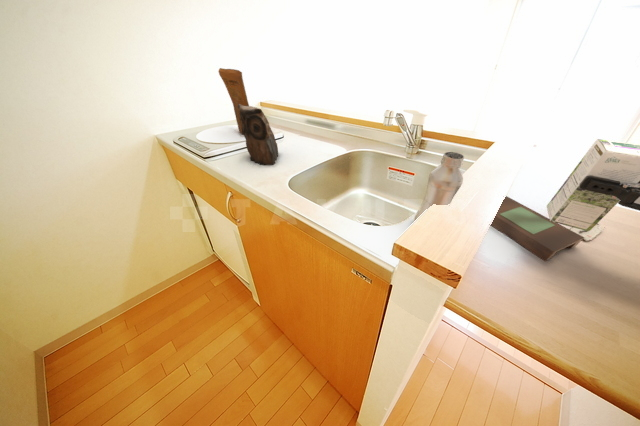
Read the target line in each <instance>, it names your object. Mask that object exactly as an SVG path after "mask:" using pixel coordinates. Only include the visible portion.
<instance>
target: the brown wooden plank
mask: <svg viewBox="0 0 640 426" xmlns="http://www.w3.org/2000/svg"><path fill="white" fill-rule="evenodd" d="M217 72H218V75H219V77H220V78H221V80H222V82H223V84H224V86H225V88H226V91H227V93H228V96H229V98H230V100H231V103H232V107H233V111H234V115H235V121H236V124H237V128H238V133H239V134H241V135H242V136H244V135H243V133H242V120H241V116H240V111H239V108H238V105H239V104H241V105H243V106H250V104H249V100H248V95H247V91H246V87H245V83H244V78H243V72H242V71H241V70H239V69H235V68H222V67H220V68H219V69H218V71H217Z"/></svg>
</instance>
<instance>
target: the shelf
mask: <svg viewBox="0 0 640 426" xmlns="http://www.w3.org/2000/svg"><path fill="white" fill-rule="evenodd" d="M505 196H506V197H505V199H504V200H503V202H502V204H501V206H500V208H499V210H498V212H497V214H496V216H495V218H494V220H493V222H492V224H491V225H490V227H493V228H494V229H496V230H497V231H499V232H500V233H502V234H503V235H505V236H506V237H508V238H509V239H510V240H512V241H513V242H515V243H517V244H518V245H520V246H521V247H523V248H524V249H526V250H528V251H529V252H530V253H532V254H534V255H535V256H537V257H538V258H540V259H541V260H542V261H544V262H546V261H548V260H550V259H552V258H553V257H554V256H555V255H557V253H558V252H560V251H561V250H564V249H566V248H568V249H569V250H571V249H574V248H576V247H577V246H578V245H579V244H580V242H582V241H583V240H584V239H583V238H584V237H582V236H581V235H579V234H577V233H575V232H573V231H571V230H570V228H568V227H566V226H565V225H563V224H559V223H555V222H551V221H550V219H549V217H547V216H544V215H543V214H541V213H539V212H537V211H535V210H533V209H532V208H530V207H528V206H526V205H524V204H522V203H520V202H519V201H516V200H515V199H513V198H511V197H509V196H507V195H505Z"/></svg>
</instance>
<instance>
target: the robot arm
mask: <svg viewBox="0 0 640 426" xmlns="http://www.w3.org/2000/svg"><path fill="white" fill-rule="evenodd" d="M620 184H621V183H620V181H615V180H610V179H605V178H601V177H596V176H586V177H585V178H584V179H583V180H582V182H581V183H580V184H579V186H580V188H581V189H585V190H589V191H593V192H597V193H602V194H606V195H611V196H610V197H611V198H613V199H616V200H620V201H619V202H618V203H617V204H618V205H620V206H621V207H625V208H629V209H632V210H634V211H635V210H636V211H640V181H639V182H638V183H637V184H636V183H622V184H621V185H620Z"/></svg>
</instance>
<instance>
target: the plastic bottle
mask: <svg viewBox="0 0 640 426" xmlns="http://www.w3.org/2000/svg"><path fill="white" fill-rule="evenodd" d="M464 161H465V156H464V154H462V153H459V152H456V151H445V152H444V153H443V155H442V158H441V159H440V165H439V164H438V166H436V167H434V169H433V170H431V172H430V173H429V175H428V177H427V184H426V189H425V194H424V197H423V201H422V203H421V205H420V207H419V209H418V211H417V212H416V213H415V216H414V217H413V222H414V221H415V220H416V219H417V218H418V217H419V216H420V215H421V214H422V213H423V212H424V211H425V210H426V209H428V208H429V207H430V206H432V205H433V204H436V205H448V204H450V205H451V203H452V201H453V200H454V198H455V196H456V195H457V193H458V191H459V190H460V188H461V187H462V185H463V184H464V183H463V182H464V176H463V174H462V171H461V167H463V162H464Z"/></svg>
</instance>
